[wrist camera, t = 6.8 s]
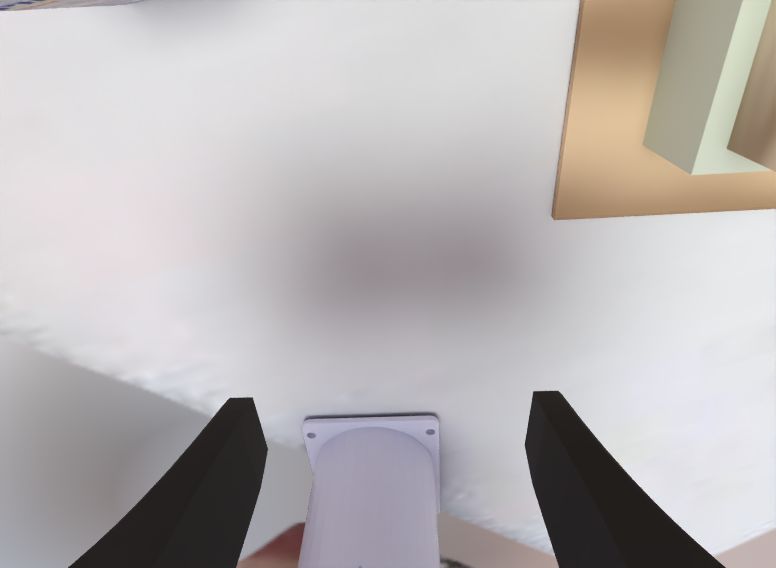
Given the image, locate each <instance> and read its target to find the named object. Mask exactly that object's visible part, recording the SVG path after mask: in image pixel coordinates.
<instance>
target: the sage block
mask: <svg viewBox="0 0 776 568" xmlns="http://www.w3.org/2000/svg"><path fill="white" fill-rule="evenodd" d="M770 4H771V0H676V1H675V6H674V10H673V14H672V19H671V23H670V27H669V32H668V36H667V41H666V45H665V49H664V54H663V58H662V62H661V67H660V71H659V76H658V80H657V84H656V89H655V93H654V97H653V102H652V106H651V111H650V115H649V119H648V124H647V128H646V132H645V137H644V141H643V146H645V147H646V148H648V149H650V150H651V151H653V152H655V153H656V154H658V155H659V156H661V157H663V158H664V159H666V160H667V161H669V162H671V163H672V164H674V165H676V166H677V167H679V168H680V169H682V170H684V171H685V172H687V173H688V174H690V175H704V174H722V173H740V172H758V171H773V170H770V169H768V168H766V167H764V166H762V165H760V164H758V163H756V162H753V161H751V160H749V159H747V158H745V157H743V156H741V155H739V154H737V153H734V152H732V151H730V150H728V149H727V146H728V142H729V139H730V136H731V132H732V129H733V126H734V123H735V119H736V116H737V113H738V109H739V106H740V103H741V99H742V96H743V93H744V90H745V86H746V83H747V80H748V76H749V73H750V70H751V66H752V63H753V60H754V57H755V53H756V50H757V47H758V43H759V40H760V37H761V33H762V30H763V27H764V24H765V20H766V17H767V14H768V10H769V7H770Z"/></svg>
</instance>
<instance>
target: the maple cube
mask: <svg viewBox="0 0 776 568" xmlns="http://www.w3.org/2000/svg"><path fill="white" fill-rule="evenodd" d="M727 149H728V150H730V151H732V152H734V153H737V154H739V155H741V156H743V157H745V158H747V159H749V160H751V161H753V162H756V163H758V164H760V165H762V166H764V167H766V168H768V169H770V170H773V171H775V172H776V0H771V4H770V7H769V10H768V14H767V17H766V20H765V24H764V27H763V30H762V33H761V37H760V40H759V43H758V47H757V50H756V53H755V57H754V60H753V63H752V66H751V70H750V73H749V76H748V80H747V83H746V86H745V90H744V93H743V96H742V99H741V103H740V106H739V109H738V113H737V116H736V119H735V123H734V126H733V129H732V132H731V136H730V139H729V142H728V146H727Z"/></svg>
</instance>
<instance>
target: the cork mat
mask: <svg viewBox="0 0 776 568" xmlns="http://www.w3.org/2000/svg"><path fill="white" fill-rule="evenodd" d="M675 1H676V0H581V2H580V9H579V17H578V24H577V32H576V39H575V47H574V54H573V62H572V69H571V77H570V84H569V91H568V99H567V106H566V114H565V121H564V129H563V136H562V144H561V151H560V158H559V166H558V173H557V181H556V188H555V196H554V203H553V211H552V217H553V219H554V220H567V219H586V218H605V217H625V216H644V215H663V214H682V213H702V212H721V211H740V210H759V209H776V172H775V171H758V172H740V173H722V174H704V175H690V174H688V173H687V172H685V171H684V170H682V169H680V168H679V167H677V166H676V165H674V164H672V163H671V162H669V161H667V160H666V159H664V158H663V157H661V156H659V155H658V154H656V153H655V152H653V151H651V150H650V149H648V148H646V147H645V146H643V141H644V137H645V132H646V128H647V124H648V119H649V115H650V111H651V106H652V102H653V97H654V93H655V89H656V84H657V80H658V76H659V71H660V67H661V62H662V58H663V54H664V49H665V45H666V41H667V36H668V32H669V27H670V23H671V19H672V14H673V10H674V6H675Z"/></svg>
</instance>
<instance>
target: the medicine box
mask: <svg viewBox="0 0 776 568" xmlns="http://www.w3.org/2000/svg"><path fill="white" fill-rule="evenodd" d="M138 1H141V0H0V11H16V10H33V9H48V8H71V7H91V6H114V5H125V4H130V3H134V2H138Z"/></svg>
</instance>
